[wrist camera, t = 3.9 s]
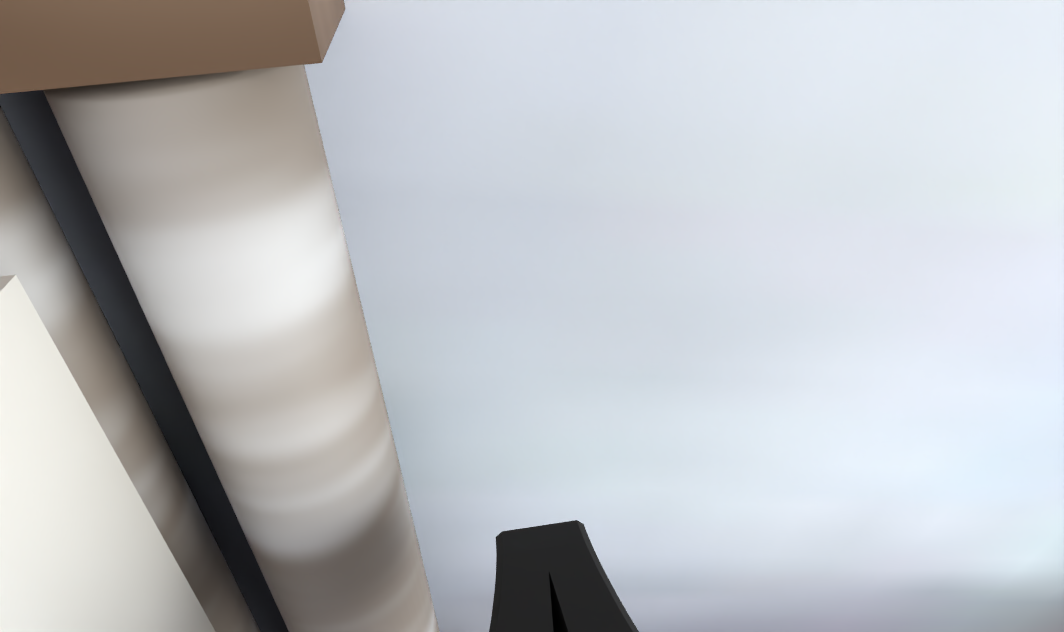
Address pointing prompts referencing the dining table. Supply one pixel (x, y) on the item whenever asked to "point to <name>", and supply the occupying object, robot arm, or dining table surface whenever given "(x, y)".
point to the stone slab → (72, 504)
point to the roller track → (220, 292)
